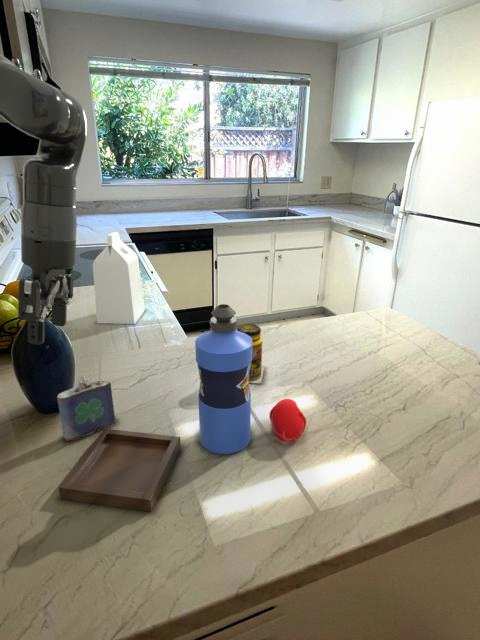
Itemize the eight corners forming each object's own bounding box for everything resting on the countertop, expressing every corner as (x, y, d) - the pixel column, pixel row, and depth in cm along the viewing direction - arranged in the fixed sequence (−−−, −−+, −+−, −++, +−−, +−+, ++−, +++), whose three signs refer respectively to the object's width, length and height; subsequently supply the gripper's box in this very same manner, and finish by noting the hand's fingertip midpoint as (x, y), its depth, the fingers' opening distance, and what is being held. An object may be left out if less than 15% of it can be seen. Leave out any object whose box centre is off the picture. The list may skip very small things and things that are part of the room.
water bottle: (193, 451, 69) (186, 315, 59) (205, 419, 77) (201, 295, 68) (247, 457, 67) (249, 318, 58) (253, 423, 76) (256, 298, 67)
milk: (110, 309, 133) (100, 230, 124) (144, 310, 133) (137, 230, 123) (97, 323, 122) (85, 237, 112) (134, 323, 122) (126, 237, 112)
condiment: (261, 384, 89) (262, 334, 85) (223, 380, 91) (223, 332, 86) (264, 368, 96) (265, 322, 92) (229, 365, 97) (229, 319, 93)
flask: (66, 443, 70) (56, 390, 66) (62, 434, 73) (52, 383, 69) (117, 424, 76) (111, 374, 72) (112, 417, 78) (105, 368, 74)
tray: (60, 498, 59) (58, 487, 58) (105, 438, 72) (103, 428, 71) (151, 512, 57) (150, 500, 56) (180, 447, 70) (180, 436, 69)
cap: (310, 445, 70) (312, 416, 68) (277, 449, 69) (278, 420, 67) (296, 418, 78) (298, 391, 75) (266, 421, 77) (267, 394, 74)
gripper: (44, 226, 67) (44, 317, 72) (-3, 235, 54) (0, 347, 58) (90, 233, 68) (86, 323, 72) (55, 243, 54) (53, 354, 59)
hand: (48, 333), depth 65 cm, fingers open, 8 cm apart
